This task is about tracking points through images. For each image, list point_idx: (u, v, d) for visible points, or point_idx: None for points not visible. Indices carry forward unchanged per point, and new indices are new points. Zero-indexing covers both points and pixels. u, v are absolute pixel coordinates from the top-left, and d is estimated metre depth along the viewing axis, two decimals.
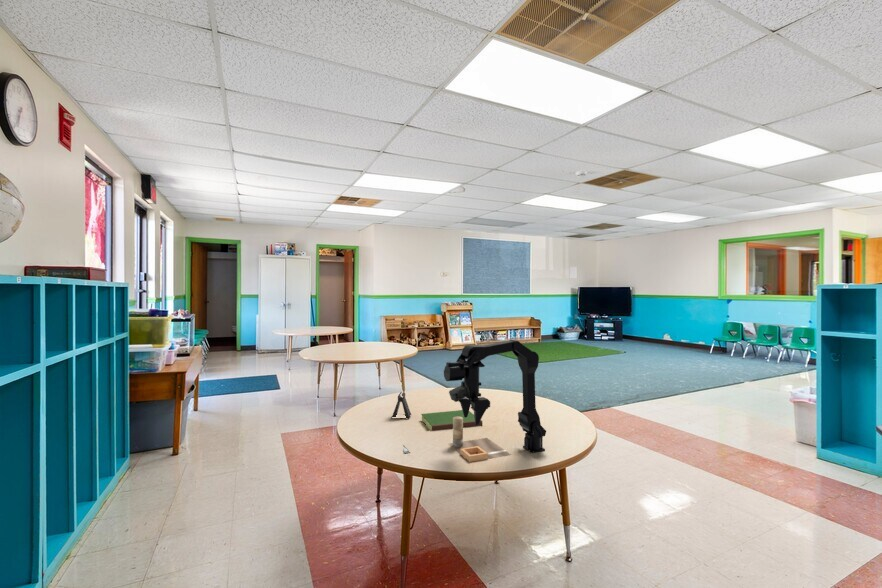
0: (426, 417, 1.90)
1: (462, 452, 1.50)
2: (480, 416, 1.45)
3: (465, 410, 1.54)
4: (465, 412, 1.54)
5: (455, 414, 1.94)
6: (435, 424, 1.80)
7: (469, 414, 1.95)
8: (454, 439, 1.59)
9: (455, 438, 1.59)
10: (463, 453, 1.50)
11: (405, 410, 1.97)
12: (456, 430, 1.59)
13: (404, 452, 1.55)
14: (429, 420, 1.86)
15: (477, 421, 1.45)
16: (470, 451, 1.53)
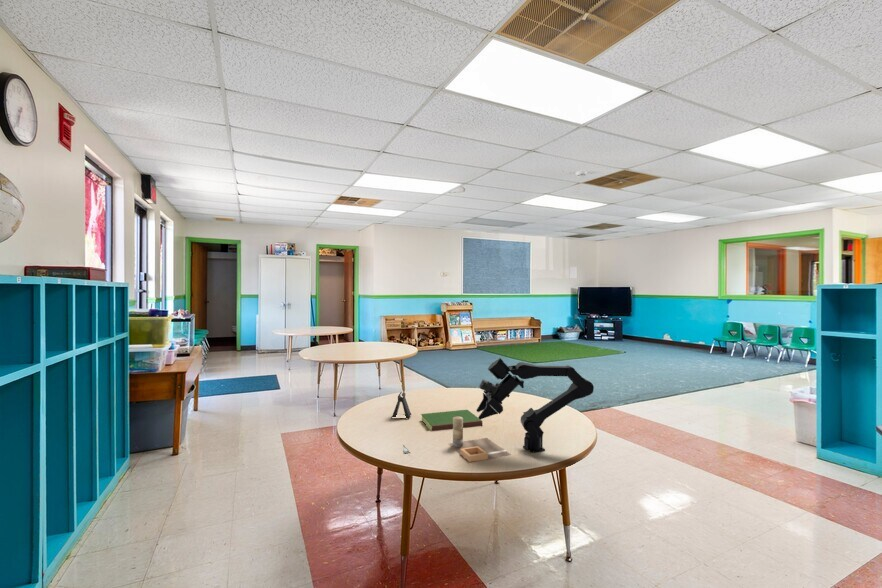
0: (426, 417, 1.90)
1: (462, 452, 1.50)
2: (486, 415, 1.55)
3: (481, 406, 1.65)
4: (480, 407, 1.65)
5: (455, 414, 1.94)
6: (435, 424, 1.80)
7: (469, 414, 1.95)
8: (454, 439, 1.59)
9: (455, 438, 1.59)
10: (463, 453, 1.50)
11: (405, 410, 1.97)
12: (456, 430, 1.59)
13: (404, 452, 1.55)
14: (429, 420, 1.85)
15: (481, 416, 1.55)
16: (470, 451, 1.53)
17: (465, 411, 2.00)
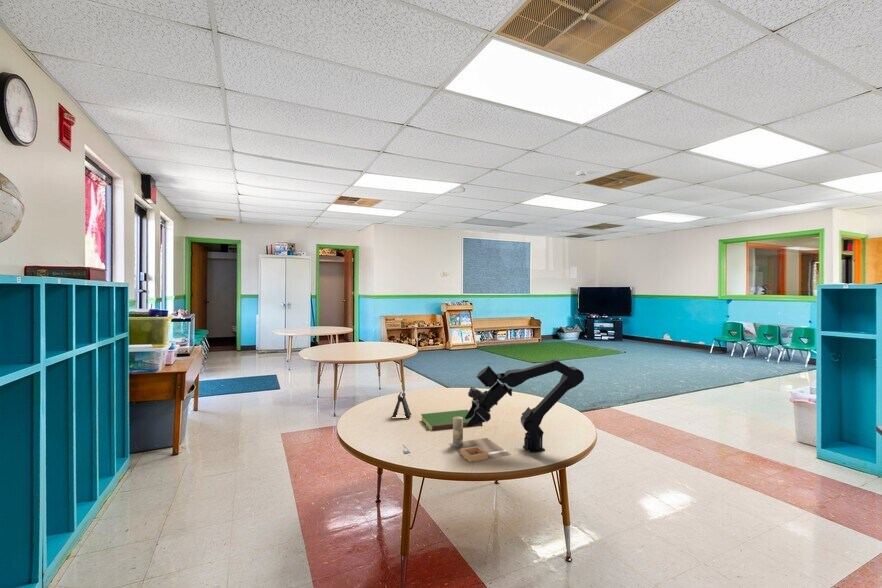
0: (426, 417, 1.90)
1: (462, 452, 1.50)
2: (474, 422, 1.55)
3: (469, 413, 1.65)
4: (468, 415, 1.65)
5: (455, 415, 1.94)
6: (435, 424, 1.80)
7: None
8: (454, 439, 1.59)
9: (455, 438, 1.59)
10: (463, 453, 1.50)
11: (405, 410, 1.97)
12: (456, 430, 1.59)
13: (404, 452, 1.55)
14: (429, 420, 1.85)
15: (469, 424, 1.55)
16: (470, 451, 1.53)
17: (465, 411, 2.00)
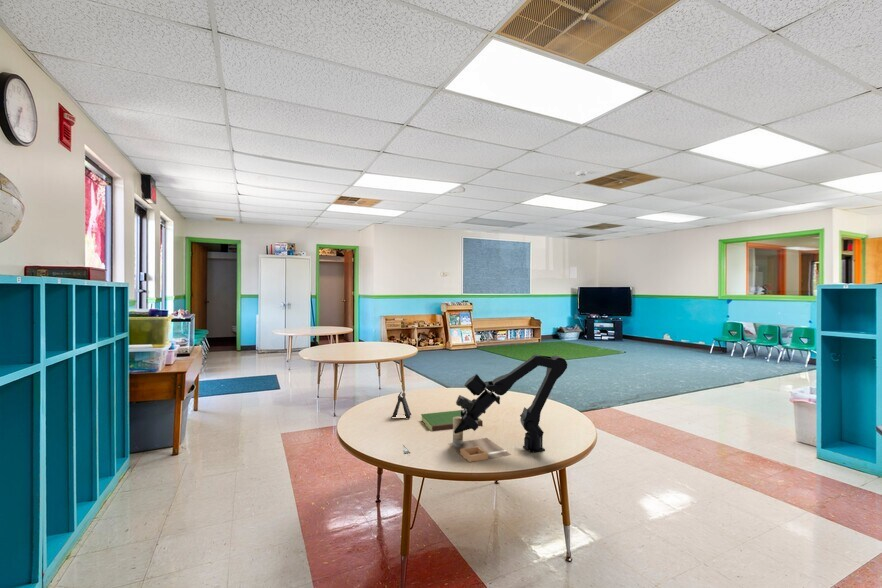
0: (426, 417, 1.90)
1: (462, 452, 1.50)
2: (462, 429, 1.57)
3: None
4: None
5: (455, 415, 1.94)
6: (435, 424, 1.80)
7: None
8: (454, 439, 1.59)
9: (455, 438, 1.59)
10: (463, 453, 1.50)
11: (405, 410, 1.97)
12: None
13: (404, 452, 1.55)
14: (429, 420, 1.85)
15: (457, 430, 1.58)
16: (470, 451, 1.53)
17: None
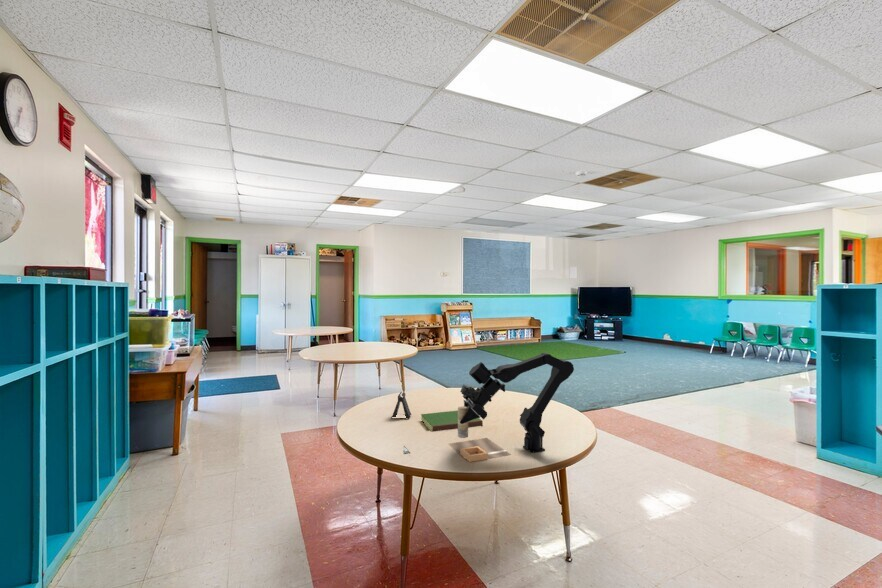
0: (426, 417, 1.90)
1: (462, 452, 1.50)
2: (468, 419, 1.53)
3: None
4: None
5: (455, 415, 1.94)
6: (436, 424, 1.80)
7: None
8: (460, 430, 1.55)
9: (461, 429, 1.54)
10: (463, 453, 1.50)
11: (405, 410, 1.97)
12: None
13: (404, 452, 1.55)
14: (429, 420, 1.85)
15: (463, 420, 1.53)
16: (470, 451, 1.53)
17: None
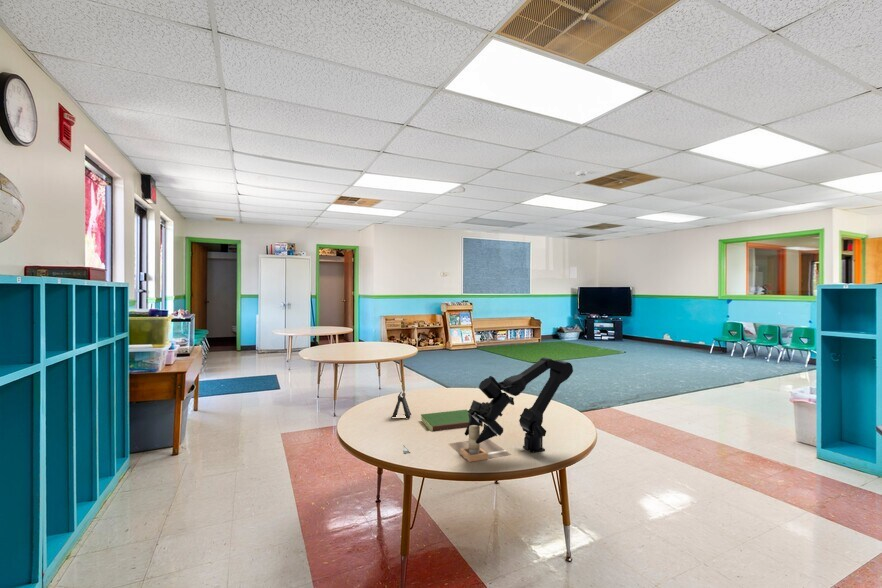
0: (426, 417, 1.89)
1: (462, 452, 1.50)
2: (484, 438, 1.45)
3: None
4: (468, 430, 1.54)
5: (455, 415, 1.94)
6: (436, 424, 1.79)
7: None
8: (472, 450, 1.48)
9: (473, 449, 1.48)
10: (463, 453, 1.50)
11: (405, 410, 1.97)
12: (475, 440, 1.48)
13: (404, 452, 1.55)
14: (429, 420, 1.85)
15: (479, 440, 1.45)
16: None
17: (464, 411, 2.00)
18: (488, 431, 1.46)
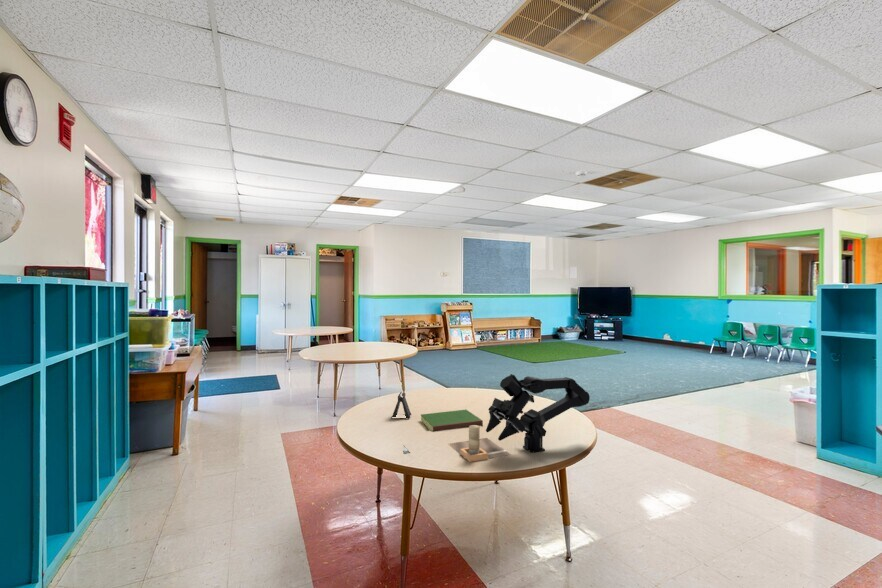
0: (426, 418, 1.89)
1: (462, 452, 1.50)
2: (507, 435, 1.49)
3: (490, 426, 1.58)
4: (489, 427, 1.58)
5: (454, 415, 1.94)
6: (436, 424, 1.79)
7: (468, 414, 1.95)
8: (472, 450, 1.48)
9: (473, 449, 1.48)
10: (463, 453, 1.50)
11: (405, 410, 1.97)
12: (475, 440, 1.48)
13: (404, 451, 1.56)
14: (429, 421, 1.85)
15: (501, 437, 1.49)
16: None
17: (464, 411, 2.00)
18: (510, 428, 1.49)
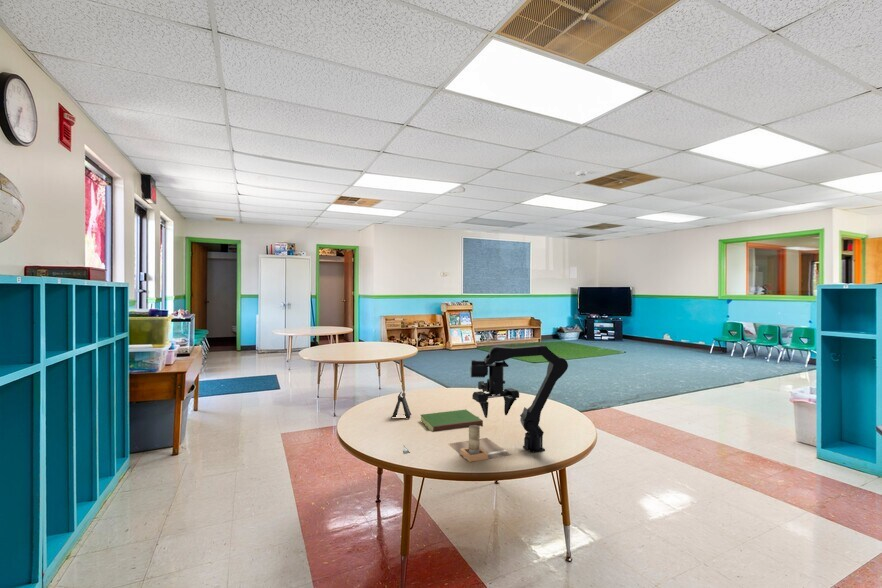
0: (426, 418, 1.89)
1: (462, 452, 1.50)
2: (484, 410, 1.58)
3: (505, 408, 1.63)
4: (505, 410, 1.62)
5: (454, 415, 1.94)
6: (436, 425, 1.79)
7: (468, 414, 1.95)
8: (472, 450, 1.48)
9: (473, 449, 1.48)
10: (463, 453, 1.50)
11: (405, 410, 1.97)
12: (475, 440, 1.48)
13: (404, 451, 1.56)
14: (429, 421, 1.85)
15: (484, 414, 1.59)
16: None
17: (464, 411, 2.00)
18: None
